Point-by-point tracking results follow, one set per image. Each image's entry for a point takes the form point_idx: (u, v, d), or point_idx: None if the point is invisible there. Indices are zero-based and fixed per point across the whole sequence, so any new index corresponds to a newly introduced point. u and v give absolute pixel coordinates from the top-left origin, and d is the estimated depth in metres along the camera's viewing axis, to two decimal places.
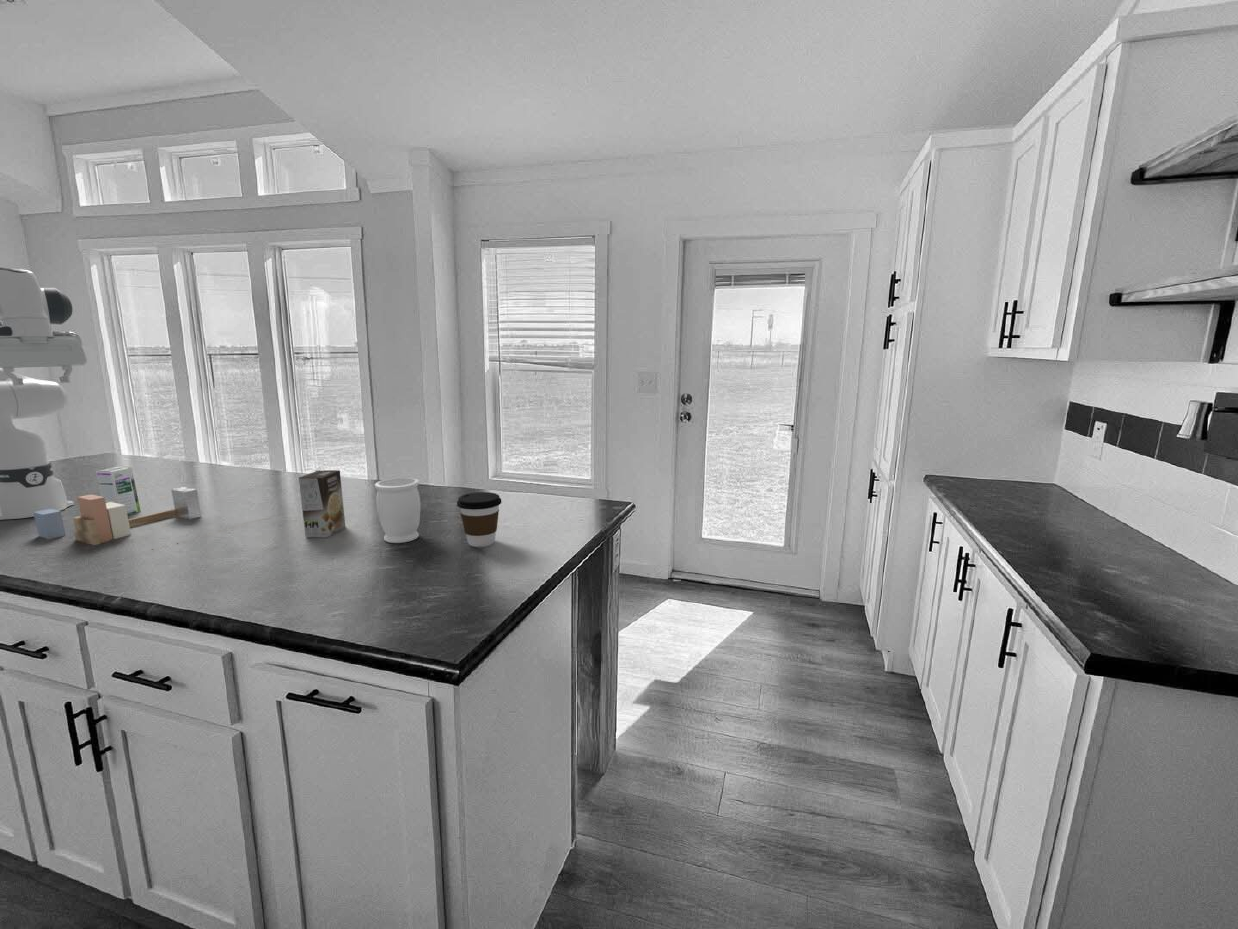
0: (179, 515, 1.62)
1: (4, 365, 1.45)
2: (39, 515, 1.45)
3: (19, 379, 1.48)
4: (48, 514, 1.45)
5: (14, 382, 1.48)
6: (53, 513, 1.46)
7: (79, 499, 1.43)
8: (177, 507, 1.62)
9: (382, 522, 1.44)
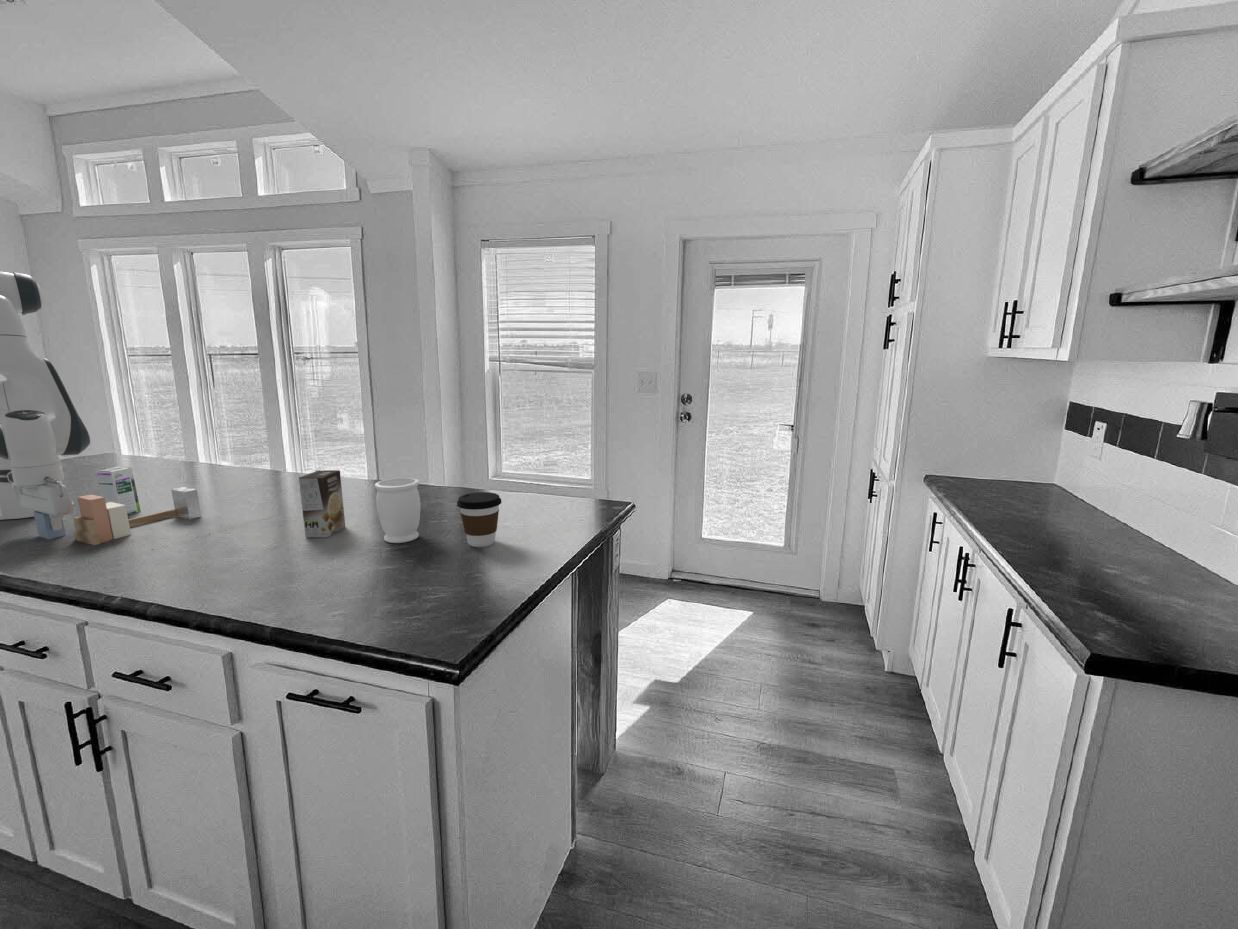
0: (179, 515, 1.62)
1: (24, 507, 1.47)
2: (39, 514, 1.45)
3: None
4: (48, 514, 1.45)
5: None
6: None
7: (79, 499, 1.43)
8: (177, 507, 1.62)
9: (382, 522, 1.44)
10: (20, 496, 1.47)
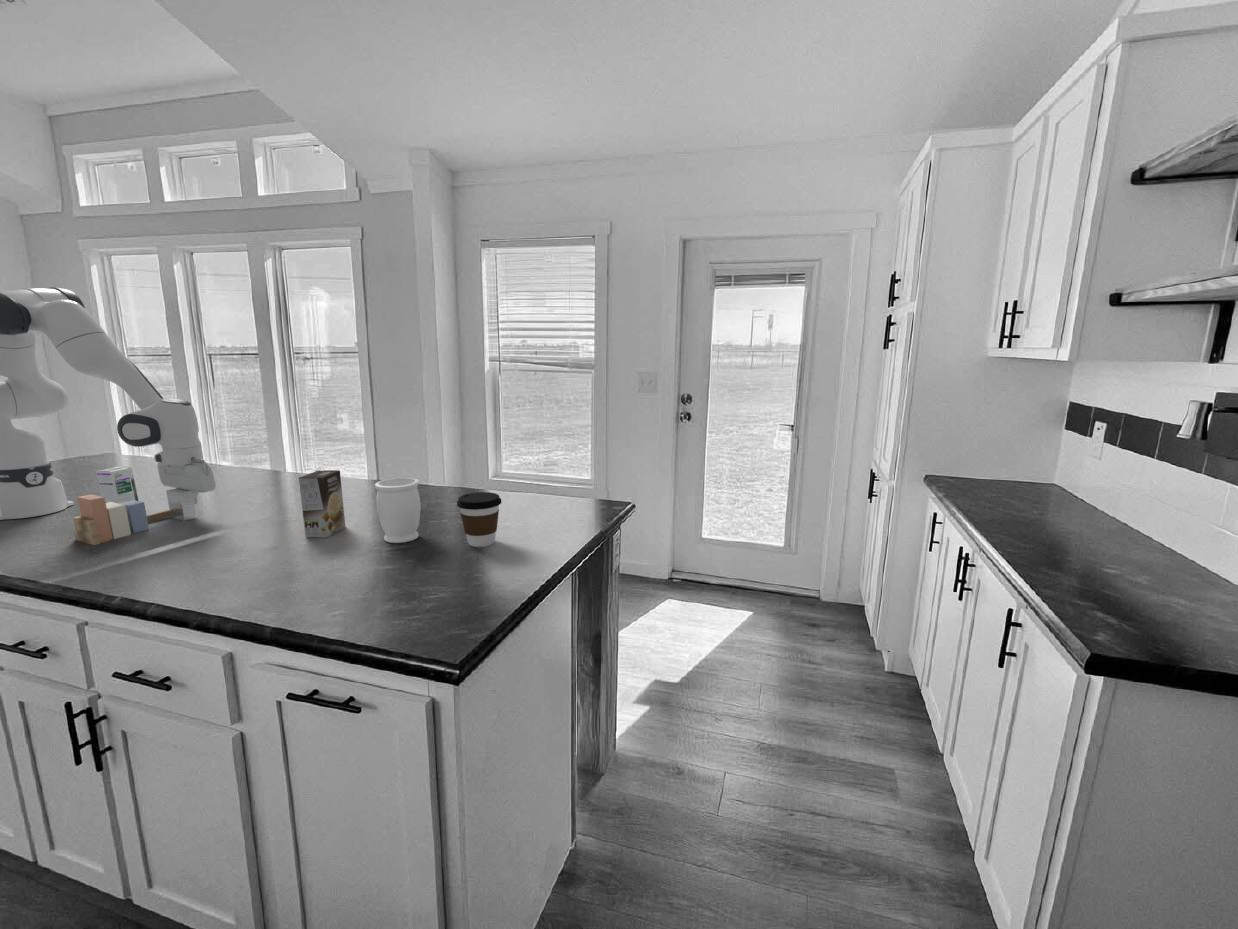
0: (174, 516, 1.61)
1: (167, 485, 1.64)
2: None
3: None
4: (133, 505, 1.49)
5: None
6: (137, 504, 1.50)
7: (79, 499, 1.43)
8: (172, 508, 1.61)
9: (382, 522, 1.44)
10: (164, 475, 1.63)
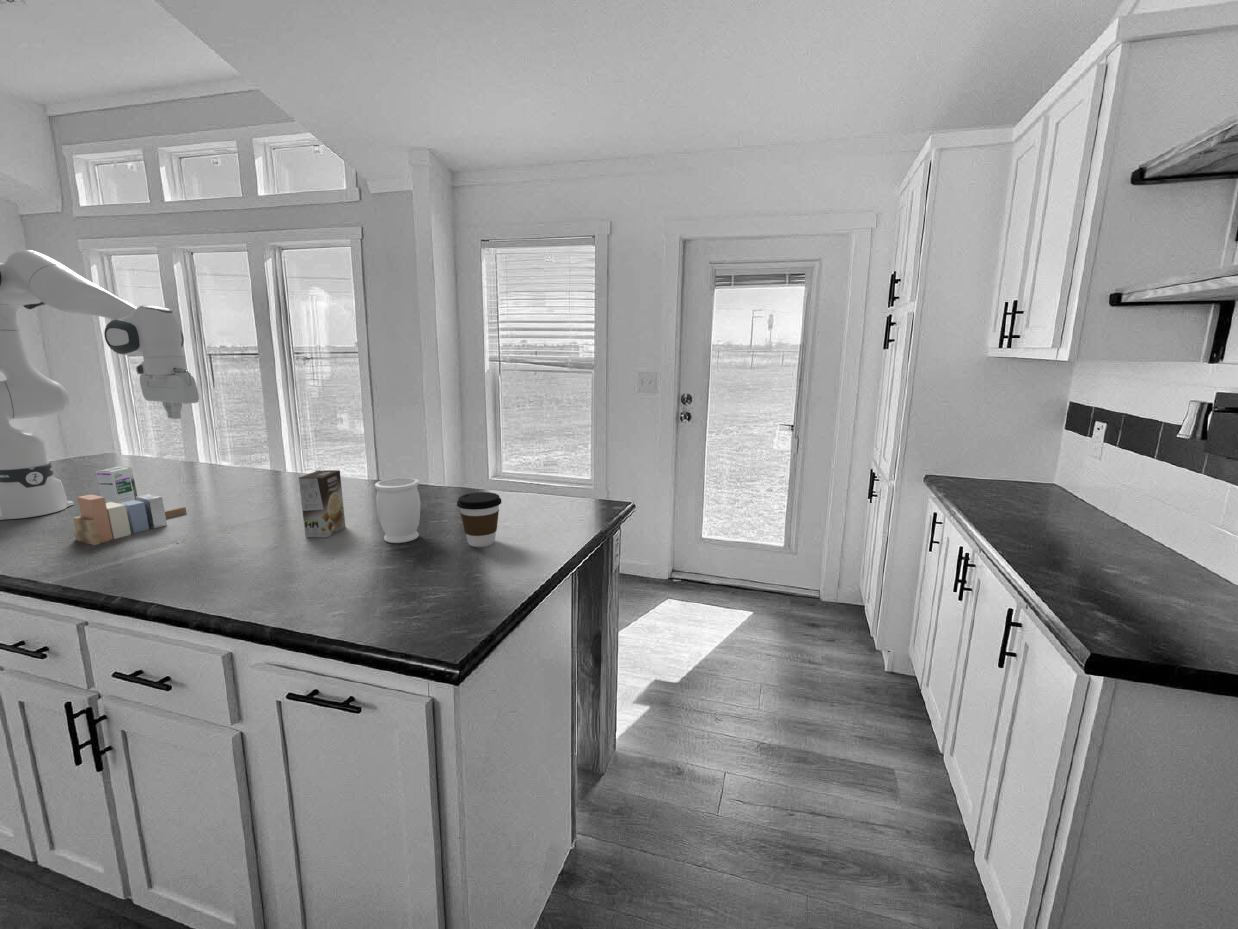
0: None
1: (149, 399, 1.58)
2: None
3: (169, 413, 1.57)
4: (133, 505, 1.49)
5: None
6: (137, 504, 1.50)
7: (79, 499, 1.43)
8: None
9: (382, 522, 1.44)
10: (146, 389, 1.58)
